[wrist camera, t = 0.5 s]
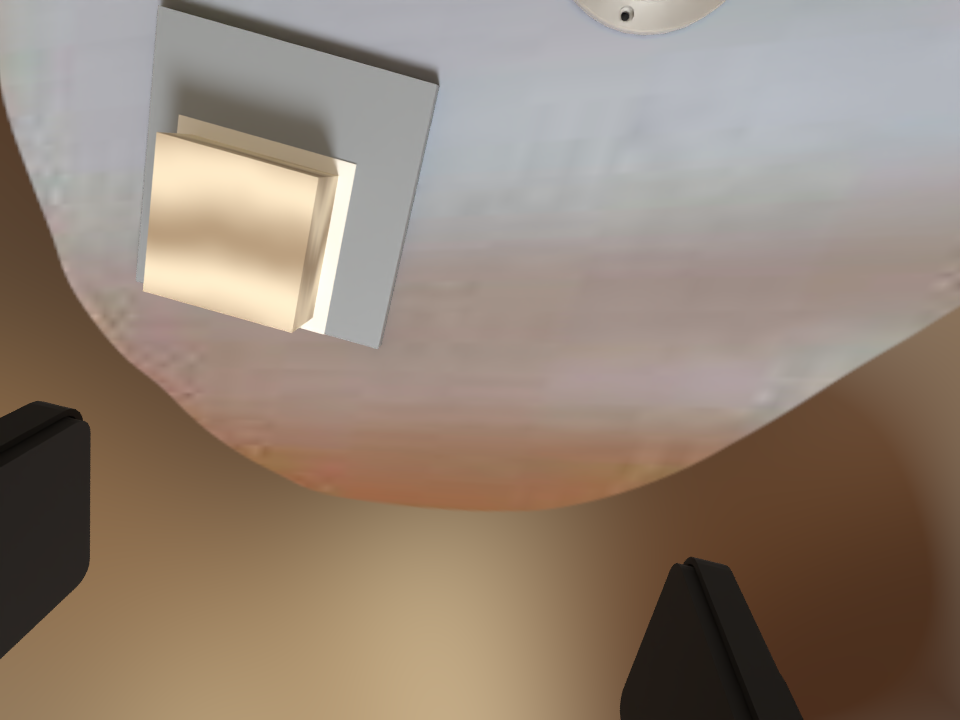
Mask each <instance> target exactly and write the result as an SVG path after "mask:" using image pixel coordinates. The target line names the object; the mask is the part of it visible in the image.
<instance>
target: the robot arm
mask: <svg viewBox="0 0 960 720" xmlns="http://www.w3.org/2000/svg"><path fill="white" fill-rule="evenodd" d="M573 1H574V2H575V3H576V4H577V5H578V6H579V7H580V8H581V9H582V10H583V11H584V12H585V13H586V14H587V15H588V16H590V17H591V18H593V19H595V20H596V21H598V22H599V23H601V24H603V25H604V26H606V27H609V28H612V29H615V30H618V31H620V32H623V33H629V34H637V35H654V34H665V33H668V32H672V31H675V30H678V29H682V28H685V27H687V26H689V25H691V24H693V23H695V22H696V21H698V20H700V19H702V18H704V17H706V16H707V15H708V14H709V13H711V12H712V11H714V10H715V9H716V8H718V7H719V6H720V5H721V4H722V3H723V2H725V1H726V0H573ZM622 13H627V14H628V16H629V19H628V20H627V21H623V20H622V19H621V14H622ZM89 561H90V427H89V425H88V423H87V422H85V421H83V418H82V416H81V414H80V412H78V411H77V410H76V409H72V408H68V407H63V406H59V405H55V404H51V403H47V402H42V401H35V402H32V403H29V404H27V405H25V406H23V407H21V408H19V409H17V410H15V411H13V412H11V413H9V414H7V415H5V416H3V417H1V418H0V659H1V658H2V657H3V656H4V655H5V654H6V653H7V652H8V651H9V650H10V649H11V648H12V647H14V645H16V643H18V642H19V641H20V640H21V639H22V638H23V637H24V636H25V635H26V634H27V633H28V632H29V631H30V630H31V629H33V628H34V627H35V626H36V625H37V624H38V623H39V622H40V621H41V620H42V619H43V618H44V617H45V616H46V615H47V614H48V613H49V612H50V611H52V610H53V609H54V608H55V607H56V606H57V605H58V604H59V603H60V602H61V601H62V600H63V599H64V598H65V597H66V596H67V595H68V594H69V593H71V592H72V590H74V589H75V588H76V587H77V586H78V585H79V584H80V582H81V581H82V579H83V578H84V576H85V574H86V572H87V570H88V567H89ZM620 717H621V720H803V718H802V716H801V714H800V712H799V709H798V707H797V705H796V703H795V701H794V699H793V697H792V695H791V693H790V691H789V688H788V686H787V684H786V682H785V681H784V679H783V678H782V676H781V674H780V673H779V671H778V669H777V667H776V664H775V663H774V660H773V658H772V656H771V654H770V652H769V650H768V647H767V645H766V644H765V641H764V639H763V637H762V635H761V633H760V631H759V629H758V626H757V624H756V622H755V620H754V618H753V616H752V614H751V611H750V609H749V607H748V605H747V603H746V601H745V599H744V597H743V594H742V593H741V590H740V588H739V586H738V584H737V582H736V580H735V577H734V575H733V573H732V571H731V570H730V568H729V567H728V566H726V565H723V564H719V563H715V562H710V561H706V560H703V559H698V558H694V557H689V558H688V559H687V560H686V561H685V562H684V564H678V563H676V564H674V565H673V566H672V568H671V570H670V572H669V575H668V577H667V580H666V582H665V584H664V587H663V590H662V592H661V595H660V597H659V600H658V602H657V605H656V607H655V610H654V613H653V615H652V617H651V620H650V623H649V625H648V628H647V630H646V633H645V635H644V638H643V640H642V643H641V645H640V648H639V650H638V653H637V656H636V658H635V661H634V663H633V666H632V668H631V671H630V673H629V676H628V678H627V681H626V683H625V686H624V689H623V692H622V696H621V703H620Z"/></svg>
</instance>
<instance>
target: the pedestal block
mask: <svg viewBox="0 0 960 720" xmlns="http://www.w3.org/2000/svg"><path fill="white" fill-rule="evenodd" d="M338 177H339V176H337V175H334V174H330V173H327V172H323V171H319V170H316V169H312V168H309V167H305V166H302V165H298V164H295V163H291V162H288V161H284V160H281V159H277V158H274V157H270V156H266V155H263V154H259V153H256V152H252V151H249V150H245V149H242V148H238V147H235V146H231V145H228V144H224V143H220V142H217V141H213V140H210V139H206V138H203V137H199V136H196V135H192V134H179V133H164V132H157V133H156V144H155V156H154V168H153V180H152V191H151V203H150V215H149V226H148V238H147V250H146V262H145V273H144V285H143V291H145V292H148V293H152V294H155V295H159V296H162V297H166V298H170V299H173V300H177V301H180V302H184V303H187V304H191V305H194V306H198V307H202V308H205V309H209V310H212V311H216V312H219V313H223V314H227V315H230V316H234V317H237V318H241V319H244V320H248V321H251V322H255V323H259V324H262V325H266V326H269V327H273V328H276V329H280V330H284V331H287V332H291V333H292V332H294V331H295V330H297V329H298V328H299V327H301V326H302V325H303V324H305V323H306V322H307V321H309V320H310V319H312V318H313V314H314V308H315V303H316V297H317V292H318V286H319V281H320V275H321V270H322V264H323V259H324V254H325V248H326V243H327V237H328V232H329V226H330V221H331V215H332V210H333V204H334V199H335V193H336V188H337V182H338Z"/></svg>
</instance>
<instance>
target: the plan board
mask: <svg viewBox="0 0 960 720" xmlns="http://www.w3.org/2000/svg"><path fill="white" fill-rule="evenodd" d="M438 91H439V86H438V85H437V84H433V83H430V82H426V81H423V80H419V79H416V78H412V77H408V76H405V75H401V74H398V73H394V72H391V71H387V70H384V69H380V68H377V67H373V66H370V65H366V64H363V63H359V62H356V61H352V60H349V59H345V58H342V57H338V56H335V55H331V54H328V53H324V52H321V51H317V50H314V49H310V48H306V47H303V46H299V45H296V44H292V43H289V42H285V41H282V40H278V39H275V38H271V37H268V36H264V35H261V34H257V33H254V32H250V31H247V30H243V29H240V28H236V27H233V26H229V25H226V24H222V23H219V22H215V21H212V20H208V19H204V18H201V17H197V16H194V15H190V14H187V13H183V12H180V11H176V10H173V9H169V8H166V7H162V6H159V5H158V13H157V26H156V38H155V50H154V63H153V75H152V87H151V100H150V112H149V124H148V137H147V149H146V161H145V174H144V186H143V198H142V211H141V223H140V235H139V248H138V260H137V273H136V281H137V282H141V283H144V273H145V262H146V250H147V238H148V226H149V215H150V203H151V191H152V180H153V168H154V156H155V144H156V133H157V132H164V133H179V134H192V135H196V136H199V137H203V138H206V139H210V140H213V141H217V142H220V143H224V144H228V145H231V146H235V147H238V148H242V149H245V150H249V151H252V152H256V153H259V154H263V155H266V156H270V157H274V158H277V159H281V160H284V161H288V162H291V163H295V164H298V165H302V166H305V167H309V168H312V169H316V170H319V171H323V172H327V173H330V174H334V175H337V176H339V177H338V182H337V188H336V193H335V199H334V204H333V210H332V215H331V221H330V226H329V232H328V237H327V243H326V248H325V254H324V259H323V264H322V270H321V275H320V281H319V286H318V292H317V297H316V303H315V308H314V314H313V318H312V319H310V320H309V321H307V322H306V323H305V324H303V325H302V326H301V327H299V328H303V329H306V330H310V331H313V332H317V333H320V334H326V335H329V336H333V337H337V338H340V339H344V340H347V341H351V342H354V343H358V344H361V345H365V346H369V347H372V348H376V349H379V347H380V346H381V344H382V340H383V335H384V331H385V326H386V322H387V317H388V313H389V309H390V304H391V300H392V295H393V291H394V286H395V282H396V277H397V273H398V269H399V264H400V260H401V255H402V251H403V246H404V242H405V237H406V233H407V228H408V224H409V220H410V215H411V211H412V206H413V202H414V197H415V193H416V188H417V184H418V180H419V175H420V171H421V166H422V162H423V157H424V153H425V148H426V144H427V139H428V135H429V131H430V126H431V122H432V117H433V113H434V108H435V104H436V99H437V95H438Z"/></svg>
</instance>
